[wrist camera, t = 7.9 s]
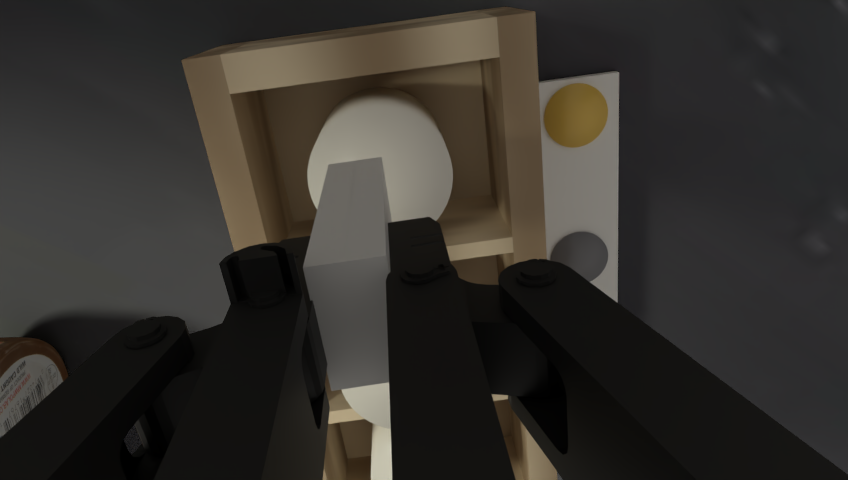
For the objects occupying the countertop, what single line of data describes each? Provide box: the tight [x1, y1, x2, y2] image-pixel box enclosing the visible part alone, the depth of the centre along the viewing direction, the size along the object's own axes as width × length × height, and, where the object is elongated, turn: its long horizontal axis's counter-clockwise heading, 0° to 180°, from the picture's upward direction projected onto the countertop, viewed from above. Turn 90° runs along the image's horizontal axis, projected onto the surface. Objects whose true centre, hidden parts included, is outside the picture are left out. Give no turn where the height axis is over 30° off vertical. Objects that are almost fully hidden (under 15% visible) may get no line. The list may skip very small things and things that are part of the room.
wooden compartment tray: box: [181, 6, 557, 480], centre depth 25 cm, size 11×22×5 cm, turn 7°
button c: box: [307, 87, 453, 222], centre depth 21 cm, size 5×5×4 cm
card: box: [539, 71, 619, 303], centre depth 27 cm, size 4×16×1 cm, turn 7°
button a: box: [371, 423, 392, 480], centre depth 27 cm, size 5×5×4 cm
